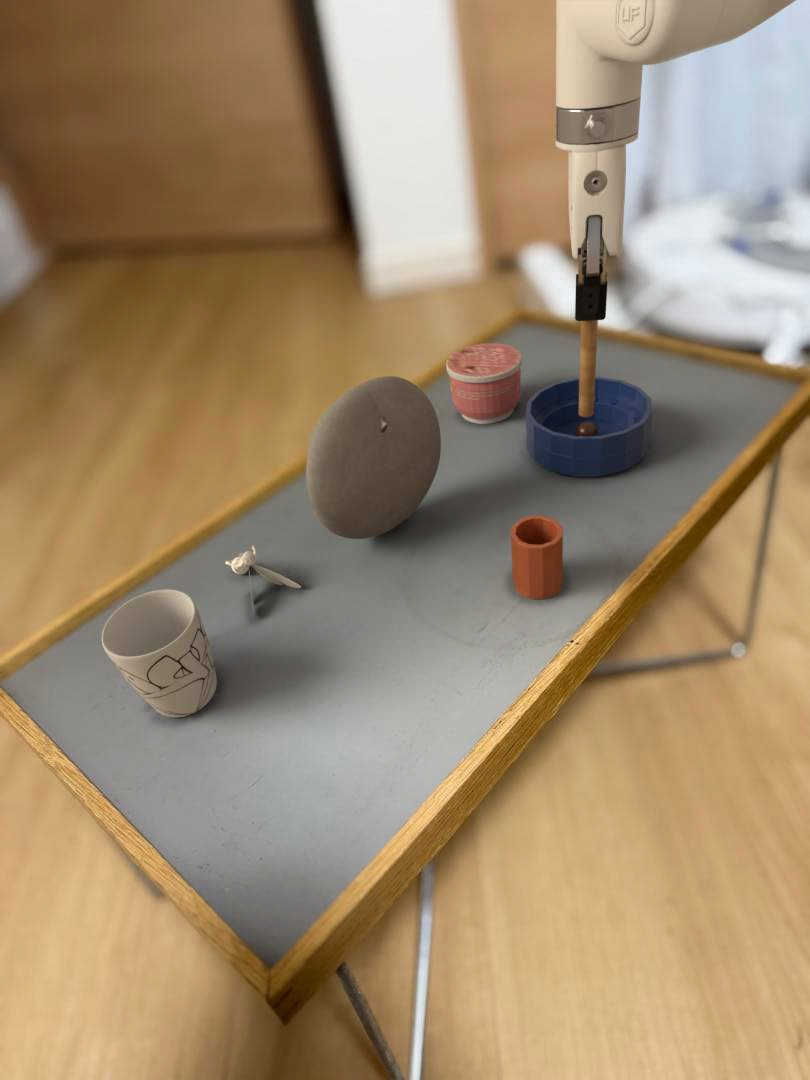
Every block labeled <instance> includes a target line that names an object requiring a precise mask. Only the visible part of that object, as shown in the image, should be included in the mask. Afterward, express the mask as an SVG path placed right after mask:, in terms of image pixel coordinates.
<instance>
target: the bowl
mask: <svg viewBox="0 0 810 1080" xmlns="http://www.w3.org/2000/svg"><path fill="white" fill-rule="evenodd" d="M578 412H579V377H574V378H569V379H565V380H564V379H563V380H560V381H556V382H553V383H551V384H548V385H547V386H544V387H543V388H541V389H539V390H536V392H535V393H534V394H533V395H532V396H531V397H530V398H529V399H528V400H527V401H526V409H525V430H526V432H525V433H526V435H525V436H526V450H527V452H528V453H529V455H530V456H531V458H532V460H533V461H534V462H535V463H537V464H538V465H540V466H542V467H543V468H545V469H547V470H549V471H551V472H555V473H559V474H562V475H563V474H564V475H568V476H572V477H603V476H606V475H611V474H615V473H619V472H624V471H626V470H627V469H629V468H630V467H632V466H635V465H636V464H637V463H639V462H640V461H642V460H643V458H644V456H645V455H646V453H648V450H649V449H650V446H651V445H650V444H651V443H650V442H651V434H652V423H653V422H652V421H653V413H654V410H653V403H652V398H651V396H650V395H648V394H647V393H646V392H645V391H644V390H643V389H642V388H641V387H639V386H637V385H634V384H632V383H630V382H628V381H624V380H623V379H622V380H621V379H616V378H608V377H604V376H603V377H602V376H595V398H594V414H593V415H592V416H591V417H581V416H580V415H579V414H578ZM584 421H591V422H594V423H595V424H596V425H597V426H598V428H599V436H575V430H576V428H577V426H578V425H579V424H580V423H582V422H584Z"/></svg>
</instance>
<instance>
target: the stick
mask: <svg viewBox="0 0 810 1080" xmlns="http://www.w3.org/2000/svg"><path fill="white" fill-rule="evenodd" d="M599 263H600V262H599ZM584 264H587V262H584ZM583 278H584V276H583ZM583 283H584V282H583ZM598 326H599V320H592V321H580V337H579V339H580V340H579V341H580V342H579V345H580V346H579V375H578V378H579V412H578V414H579V415H580V416H581V417H591V416H592V415H593V414H594V398H595V377H596V375H597V374H596V373H597V371H596V370H597V348H598V328H599V327H598Z"/></svg>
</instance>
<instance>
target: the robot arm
mask: <svg viewBox="0 0 810 1080" xmlns="http://www.w3.org/2000/svg"><path fill="white" fill-rule="evenodd" d="M795 1H797V0H555V40H556V41H555V44H556V45H555V147H556V149H557V148H558V149H559V150H563V151H568V163H567V164H568V166H567V167H568V175H567V176H568V177H567V179H568V180H567V183H568V185H567V186H568V188H567V190H568V194H567V195H568V222H569V224H568V225H569V236H570V247H571V256H572V259H574V260H575V261H576V262H577V261H578V273H575V302H574V303H575V304H574V307H575V308H574V319H575V321H577V322H581V321H592V320H598V321H603V320H605V319H606V317H607V301H608V300H607V299H608V279H607V278H608V272H607V259H608V255H609V256H610V257H613V256H614V258H615V259H618V258H620V257H621V256H622V254H623V244H624V243H623V242H624V241H623V240H624V221H625V220H624V219H625V203H626V202H625V201H626V183H627V181H626V180H627V145H629V144H631V143H633V142H635V141H636V140H638V138H639V130H640V129H639V127H640V114H641V100H642V85H643V84H642V83H643V82H642V81H643V70H644V66H651V65H657V64H662V63H663V64H664V63H667V62H669V61H673V60H677V59H679V58H682V57H686V56H688V55H691V54H693V53H696V52H701V51H703V50H706V49H709V48H712V47H716V46H719V45H723V44H727V43H728V42H731V41H733V40H735V39H738V38H739V37H741V36H743V35H745V34H747V33H749V32H750V31H751V30H753V29H755V28H757V27H758V26H760V25H761V24H764V22H766V21H767V20H769V19H770V18H772V17H774V16H776V14H778V13H779V12H781V11H782V10H784V9H786V8H787V7H789V6H790V5H792V4H793V3H794V2H795ZM584 262H587V264H584ZM599 262H600V263H599ZM583 276H584V278H583ZM583 282H584V283H583Z"/></svg>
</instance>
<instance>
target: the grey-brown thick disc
mask: <svg viewBox="0 0 810 1080" xmlns="http://www.w3.org/2000/svg"><path fill="white" fill-rule="evenodd" d="M437 415H438V414H437V413H436V409H435V408H434V405H433V403H432V402H431V400H430V399H429V397H428V395H426V394H425V392H424V391H423V390H422V389H421V388H420V387H418V385H416V384H415V383H413V382H411V381H410V380H408V379H405V378H402V377H400V376H395V375H387V376H380V377H375V378H372V379H368V380H365V381H364V382H361V383H359V384H358V385H355V386H354V387H352V388H351V389H349V390H347V391H346V392H345V393H343V394H342V395H341V396H339V397H338V398H337V399H336V400H335V401H333V402H332V404H331V405H330V406H329V407H327V409H326V410H325V411H324V412H323V413H322V414H321V416H320V418H319V419H318V420H317V422H316V423H315V426H314V428H313V429H312V432H311V435H310V437H309V441H308V446H307V447H308V448H307V453H306V463H305V464H306V465H305V484H306V491H307V496H308V500H309V502H310V505H311V508H312V510H313V512H314V514H315V516H316V518H318V520H319V522H320V523H321V525H322V526H324V527H325V528H326V529H327V530H328V531H330V532H331V533H332V534H334V535H336V536H338V537H341V538H344V539H349V540H352V539H353V540H365V539H372V538H376V537H378V536H381V535H383V534H385V533H387V532H390V531H392V530H393V529H395V528H396V527H398V526H399V525H400V524H402V523H403V522H404V521H406V520H407V518H409V517H410V516H411V515H412V514H413V513H414V512H415V511H416V509H417V508H418V507H419V506H420V504H421V503H422V502H423V500H424V499H425V497H426V496H427V494H428V492H429V490H430V488H431V487H432V485H433V482H434V481H435V478H436V476H437V475H436V474H437V472H438V469H439V466H440V460H441V449H442V439H441V427H440V422H439V418H438V416H437ZM381 420H382V422H381Z"/></svg>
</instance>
